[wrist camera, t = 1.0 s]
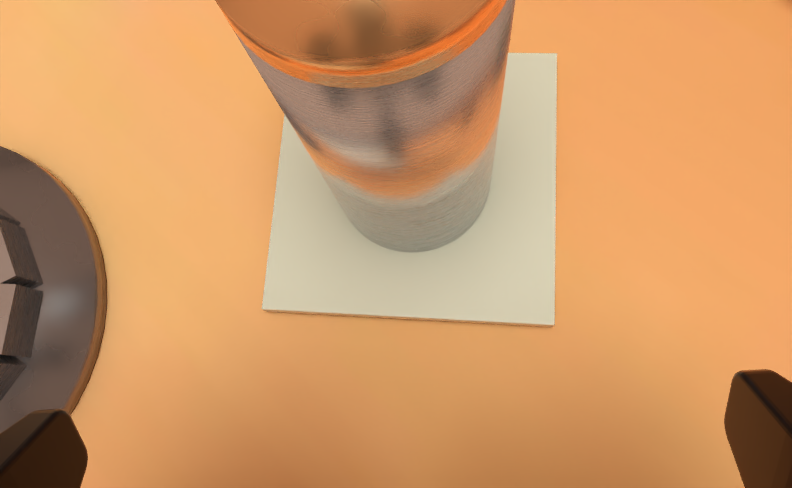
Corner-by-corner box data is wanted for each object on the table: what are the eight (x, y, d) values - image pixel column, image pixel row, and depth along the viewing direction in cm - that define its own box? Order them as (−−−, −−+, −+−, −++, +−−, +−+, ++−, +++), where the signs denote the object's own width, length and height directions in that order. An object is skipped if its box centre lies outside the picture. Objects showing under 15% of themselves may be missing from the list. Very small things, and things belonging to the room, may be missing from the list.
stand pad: (552, 327, 22) (554, 324, 21) (266, 311, 23) (262, 309, 22) (554, 61, 24) (556, 53, 24) (295, 59, 25) (291, 51, 25)
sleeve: (488, 255, 22) (524, 58, 9) (331, 249, 23) (167, 55, 10) (493, 108, 23) (531, -238, 11) (344, 105, 24) (215, -224, 11)
